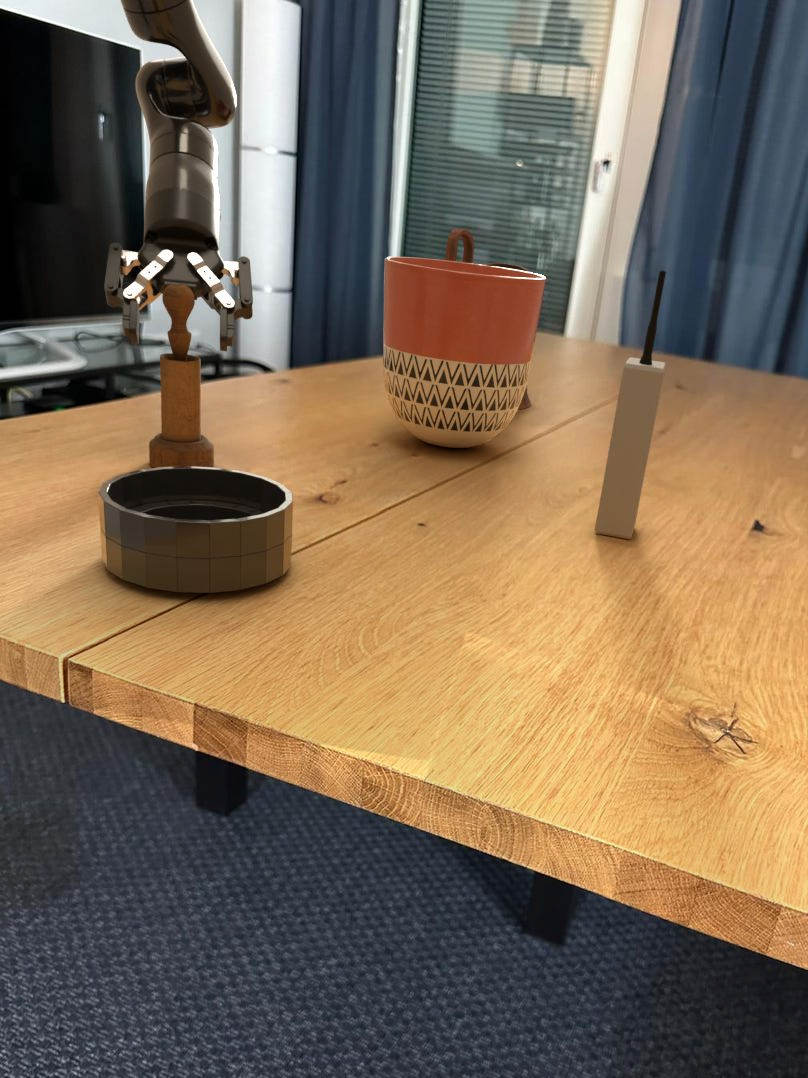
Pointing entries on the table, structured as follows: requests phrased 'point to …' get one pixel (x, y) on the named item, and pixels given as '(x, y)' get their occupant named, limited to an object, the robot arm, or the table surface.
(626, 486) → the vintage mobile phone
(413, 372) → the planter
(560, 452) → the table surface
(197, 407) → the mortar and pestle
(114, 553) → the bowl
